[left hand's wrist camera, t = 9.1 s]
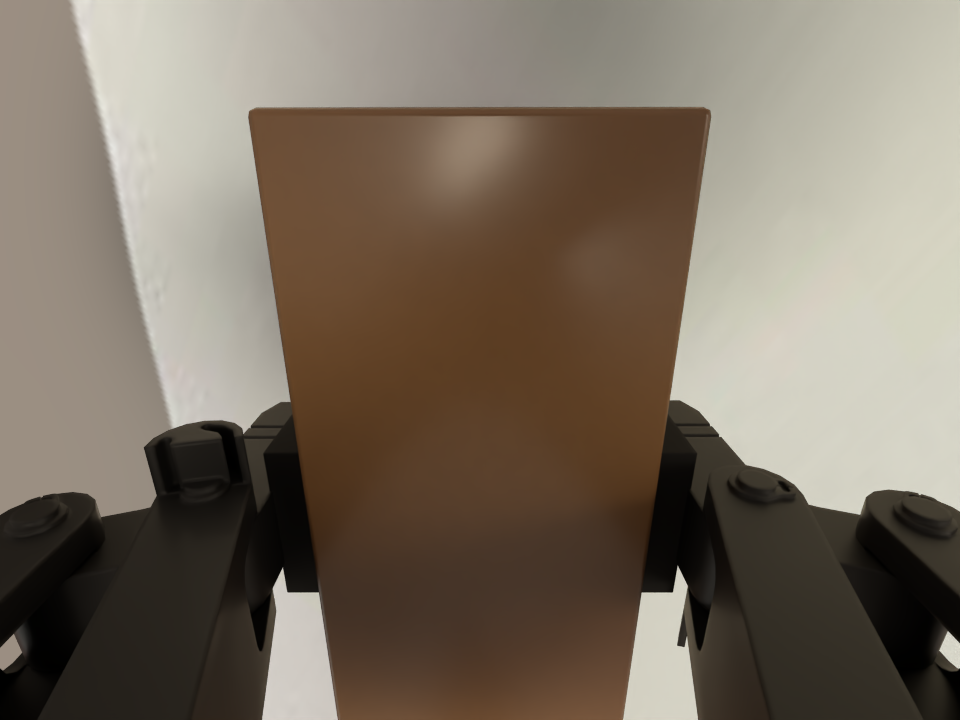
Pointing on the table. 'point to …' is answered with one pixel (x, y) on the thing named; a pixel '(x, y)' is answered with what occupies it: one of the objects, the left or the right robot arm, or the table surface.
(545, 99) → the table surface
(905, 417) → the table surface
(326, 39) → the table surface
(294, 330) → the post
